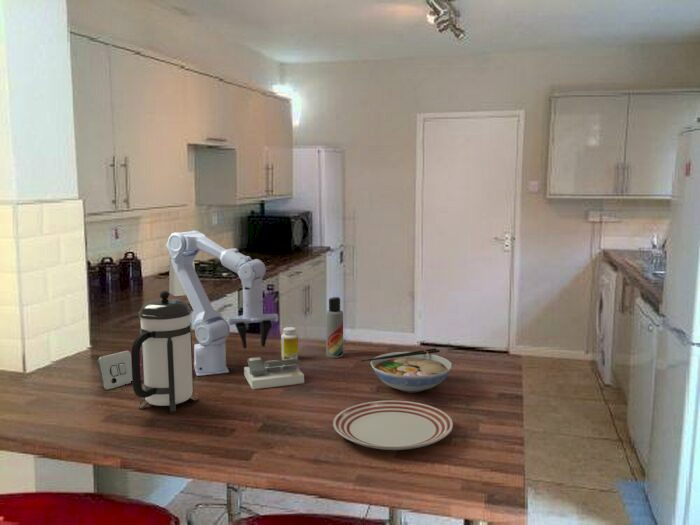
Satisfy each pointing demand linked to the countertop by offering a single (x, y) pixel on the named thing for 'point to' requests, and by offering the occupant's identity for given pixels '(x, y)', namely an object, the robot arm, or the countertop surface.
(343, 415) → the dinner plate
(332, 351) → the lotion bottle
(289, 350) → the supplement bottle
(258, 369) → the panel
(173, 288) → the milk
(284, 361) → the rocker right
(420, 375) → the ramen bowl
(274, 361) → the rocker middle
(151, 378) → the coffee press
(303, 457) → the countertop surface
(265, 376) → the switch unit
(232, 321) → the robot arm
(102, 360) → the electrical switch
